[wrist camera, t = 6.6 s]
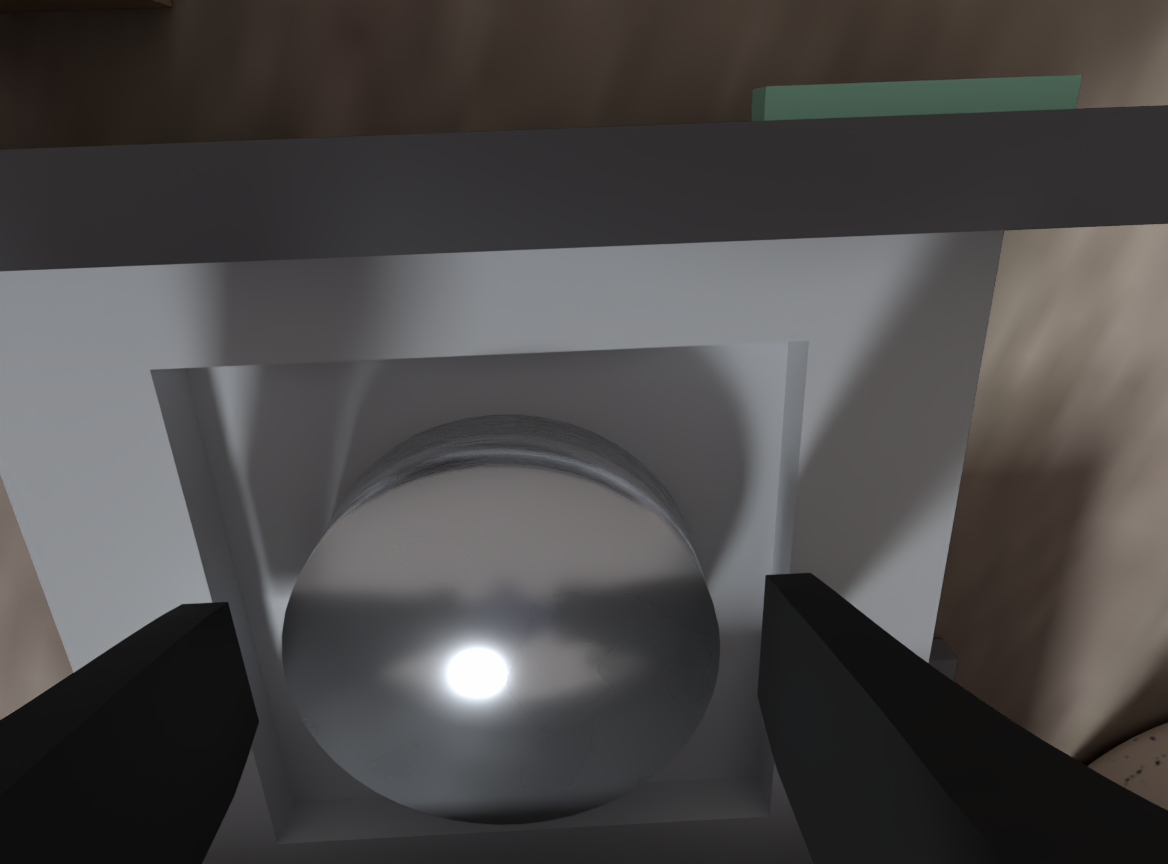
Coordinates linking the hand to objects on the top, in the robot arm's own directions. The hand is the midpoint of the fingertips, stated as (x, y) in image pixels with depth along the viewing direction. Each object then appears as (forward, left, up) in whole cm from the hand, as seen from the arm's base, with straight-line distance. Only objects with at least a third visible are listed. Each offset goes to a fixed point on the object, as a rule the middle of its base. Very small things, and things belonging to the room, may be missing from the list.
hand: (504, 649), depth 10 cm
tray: (0, 0, -3) cm, 3 cm away
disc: (0, 0, -1) cm, 1 cm away
